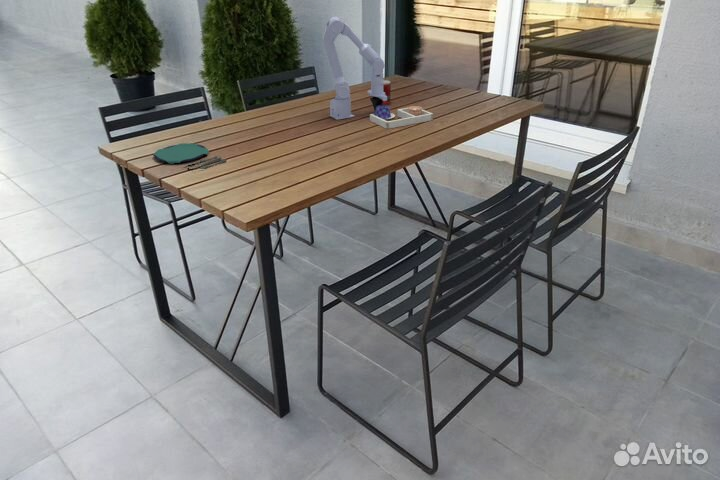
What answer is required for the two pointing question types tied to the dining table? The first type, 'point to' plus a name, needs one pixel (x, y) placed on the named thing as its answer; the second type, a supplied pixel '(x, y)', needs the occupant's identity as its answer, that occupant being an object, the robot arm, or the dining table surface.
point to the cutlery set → (185, 154)
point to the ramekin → (415, 110)
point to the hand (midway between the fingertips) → (377, 112)
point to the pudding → (383, 112)
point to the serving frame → (406, 119)
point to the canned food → (386, 91)
